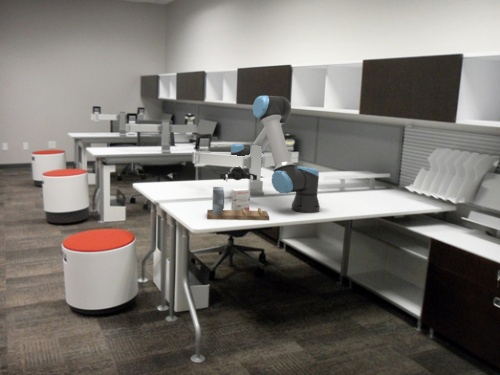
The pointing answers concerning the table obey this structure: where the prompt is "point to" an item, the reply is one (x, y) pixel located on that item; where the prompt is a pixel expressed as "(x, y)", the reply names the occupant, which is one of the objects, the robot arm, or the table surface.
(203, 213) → the table surface
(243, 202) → the ink box
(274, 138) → the robot arm
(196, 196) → the table surface
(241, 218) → the wooden desk organizer
